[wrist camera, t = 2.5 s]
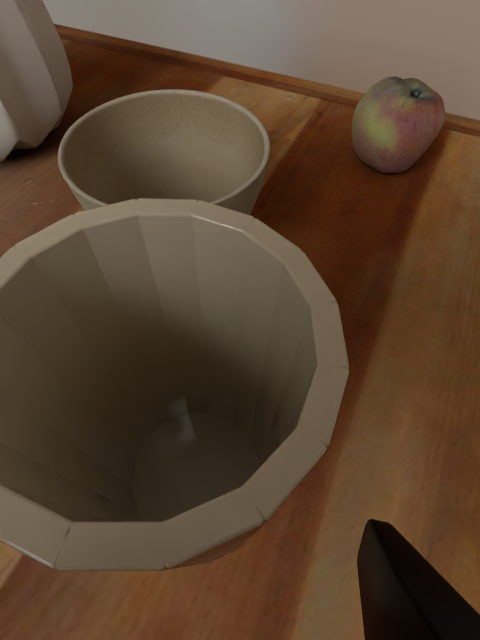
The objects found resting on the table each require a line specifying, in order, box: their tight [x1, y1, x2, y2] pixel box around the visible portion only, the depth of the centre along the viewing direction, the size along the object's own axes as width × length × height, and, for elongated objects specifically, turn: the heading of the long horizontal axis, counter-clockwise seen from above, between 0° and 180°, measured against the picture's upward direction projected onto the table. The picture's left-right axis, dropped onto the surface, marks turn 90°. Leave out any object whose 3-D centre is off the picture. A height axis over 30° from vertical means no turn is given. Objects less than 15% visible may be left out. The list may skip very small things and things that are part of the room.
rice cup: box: [0, 198, 349, 571], centre depth 11 cm, size 6×6×12 cm
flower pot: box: [58, 89, 270, 215], centre depth 21 cm, size 10×10×7 cm
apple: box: [352, 77, 445, 173], centre depth 27 cm, size 6×8×6 cm
